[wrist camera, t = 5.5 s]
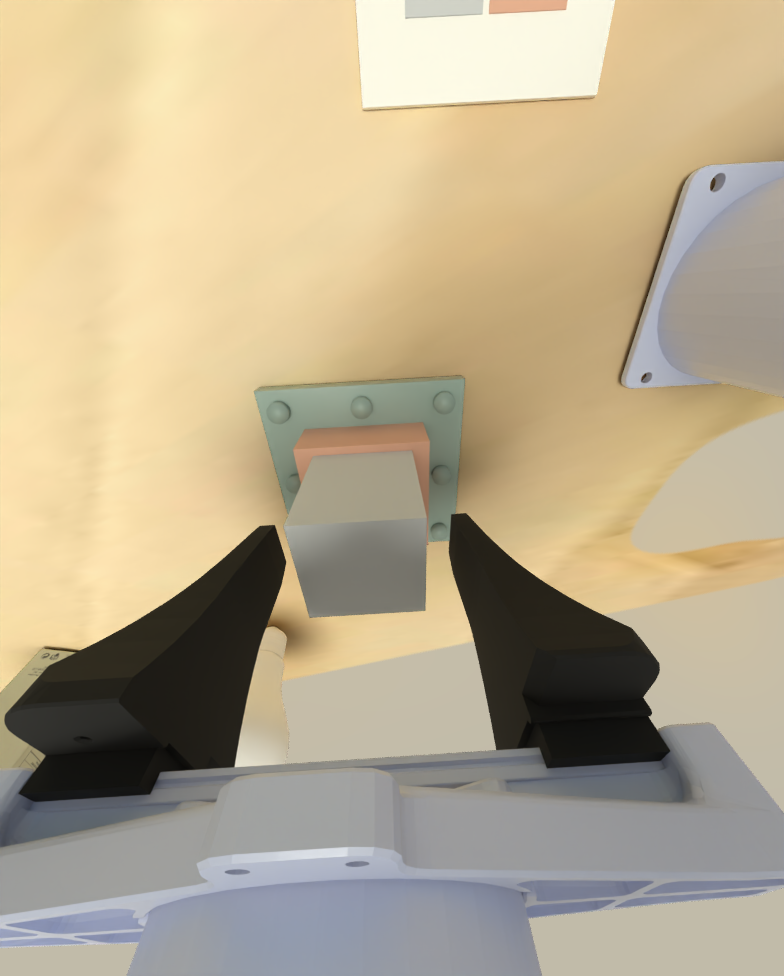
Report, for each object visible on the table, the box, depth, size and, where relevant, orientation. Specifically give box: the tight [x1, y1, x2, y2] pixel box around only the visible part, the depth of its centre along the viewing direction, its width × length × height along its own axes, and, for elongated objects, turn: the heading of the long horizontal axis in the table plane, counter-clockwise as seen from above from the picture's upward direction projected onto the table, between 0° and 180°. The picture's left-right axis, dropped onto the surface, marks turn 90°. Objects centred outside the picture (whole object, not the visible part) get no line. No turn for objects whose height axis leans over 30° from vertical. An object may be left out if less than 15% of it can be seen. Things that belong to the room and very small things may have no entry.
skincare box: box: [0, 649, 76, 770], centre depth 22 cm, size 6×4×12 cm
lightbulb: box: [235, 627, 289, 767], centre depth 21 cm, size 6×6×11 cm
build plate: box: [254, 376, 465, 542], centre depth 17 cm, size 10×10×1 cm
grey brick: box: [283, 450, 427, 618], centre depth 13 cm, size 4×4×5 cm
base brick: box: [293, 422, 430, 545], centre depth 16 cm, size 6×6×2 cm
